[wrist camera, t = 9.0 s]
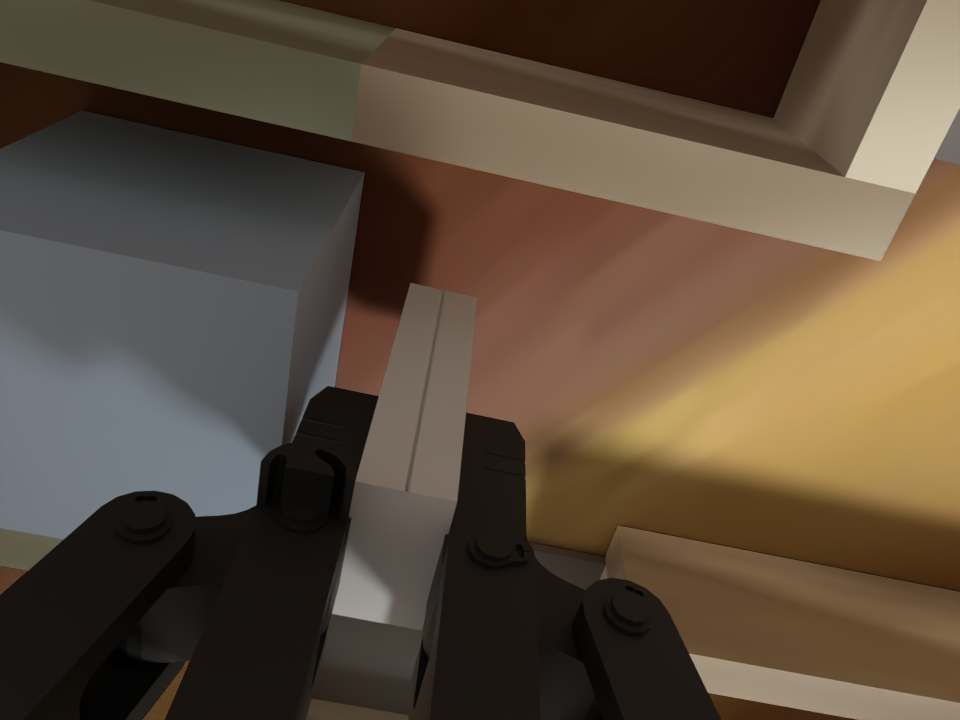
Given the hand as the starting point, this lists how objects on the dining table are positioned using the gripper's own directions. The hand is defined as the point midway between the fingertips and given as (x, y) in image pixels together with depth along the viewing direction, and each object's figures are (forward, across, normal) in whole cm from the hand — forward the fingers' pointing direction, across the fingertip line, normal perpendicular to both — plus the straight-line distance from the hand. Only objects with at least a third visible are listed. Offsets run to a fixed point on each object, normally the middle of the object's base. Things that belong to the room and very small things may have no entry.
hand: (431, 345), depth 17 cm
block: (+2, +5, 0) cm, 5 cm away
